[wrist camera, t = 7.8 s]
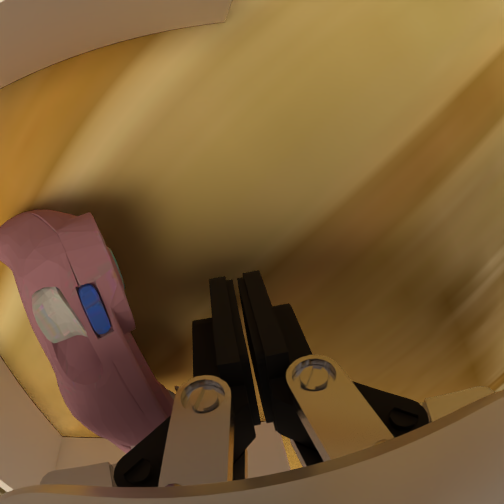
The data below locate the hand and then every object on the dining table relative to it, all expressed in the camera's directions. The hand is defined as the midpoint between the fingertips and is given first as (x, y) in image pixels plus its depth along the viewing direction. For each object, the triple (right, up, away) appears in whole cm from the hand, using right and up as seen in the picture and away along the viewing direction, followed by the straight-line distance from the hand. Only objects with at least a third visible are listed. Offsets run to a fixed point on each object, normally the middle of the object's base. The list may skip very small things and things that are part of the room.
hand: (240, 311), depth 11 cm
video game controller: (-6, 0, +1) cm, 6 cm away
